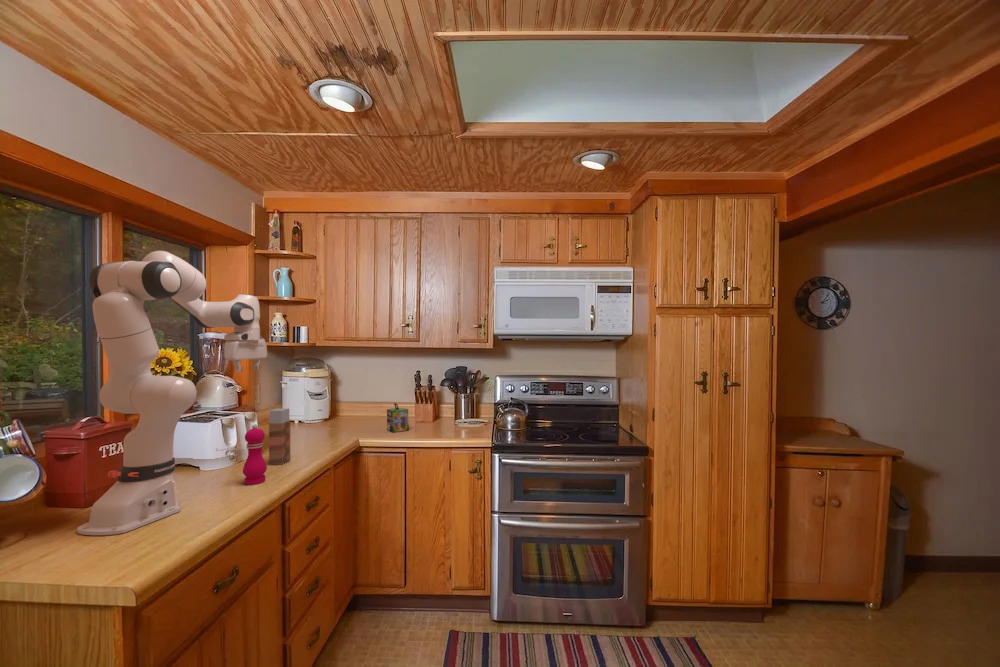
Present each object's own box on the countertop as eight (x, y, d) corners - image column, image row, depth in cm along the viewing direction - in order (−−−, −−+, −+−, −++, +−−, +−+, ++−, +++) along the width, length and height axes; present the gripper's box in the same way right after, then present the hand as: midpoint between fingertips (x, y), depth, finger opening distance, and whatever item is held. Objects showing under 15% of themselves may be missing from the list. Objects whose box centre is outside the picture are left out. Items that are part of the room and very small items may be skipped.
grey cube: (281, 423, 166) (281, 410, 166) (269, 423, 166) (269, 410, 166) (289, 420, 171) (289, 408, 171) (277, 420, 171) (277, 408, 171)
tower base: (282, 465, 165) (282, 451, 166) (268, 465, 166) (268, 451, 166) (290, 461, 171) (290, 447, 171) (277, 461, 171) (277, 447, 171)
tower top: (282, 437, 166) (282, 423, 166) (268, 437, 166) (268, 423, 166) (290, 434, 171) (290, 420, 171) (277, 434, 172) (277, 420, 172)
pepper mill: (239, 482, 146) (239, 424, 146) (262, 477, 151) (262, 421, 152) (246, 487, 141) (246, 427, 141) (269, 481, 146) (269, 423, 147)
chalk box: (409, 430, 228) (408, 403, 228) (392, 433, 222) (392, 404, 223) (402, 427, 235) (402, 401, 235) (386, 430, 230) (386, 402, 230)
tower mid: (282, 451, 166) (282, 437, 166) (268, 451, 166) (268, 437, 166) (290, 447, 171) (290, 434, 171) (277, 447, 171) (277, 434, 172)
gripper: (257, 336, 177) (257, 369, 177) (220, 335, 156) (220, 373, 156) (271, 336, 176) (271, 369, 176) (236, 335, 156) (236, 373, 156)
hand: (247, 371), depth 166 cm, fingers open, 8 cm apart
